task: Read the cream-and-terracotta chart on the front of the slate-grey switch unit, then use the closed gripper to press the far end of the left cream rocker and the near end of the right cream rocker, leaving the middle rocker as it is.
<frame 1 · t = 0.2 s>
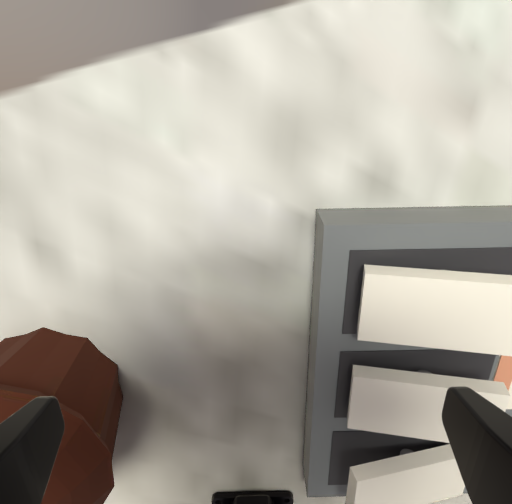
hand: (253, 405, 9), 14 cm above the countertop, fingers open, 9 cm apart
muffin: (59, 378, 27), on the countertop
rocker A: (406, 478, 26), point 4 cm above the countertop, hinge at 12.0°
rocker C: (441, 307, 20), point 4 cm above the countertop, hinge at -12.0°
rocker B: (420, 403, 23), point 4 cm above the countertop, hinge at -12.0°
switch unit: (413, 356, 27), on the countertop
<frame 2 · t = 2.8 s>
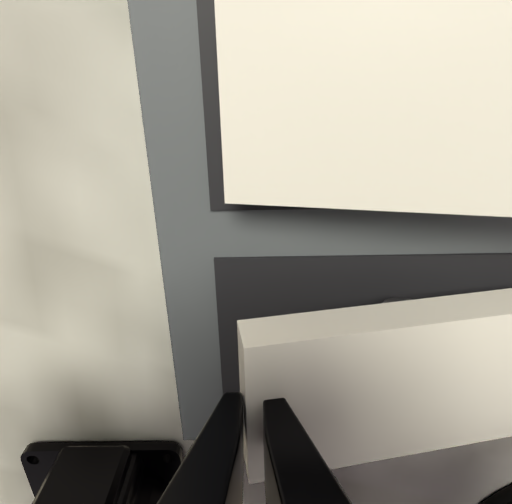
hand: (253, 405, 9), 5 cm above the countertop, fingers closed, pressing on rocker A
rocker A: (399, 374, 10), point 4 cm above the countertop, hinge at 10.4°, touching gripper
rocker B: (439, 96, 7), point 4 cm above the countertop, hinge at -12.0°
switch unit: (416, 87, 11), on the countertop
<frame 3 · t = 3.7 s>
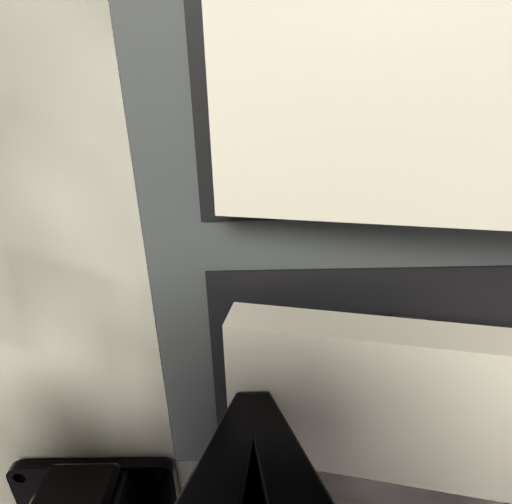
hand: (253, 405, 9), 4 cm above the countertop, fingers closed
rocker A: (400, 396, 9), point 4 cm above the countertop, hinge at -11.9°
rocker B: (451, 99, 7), point 4 cm above the countertop, hinge at -12.0°
switch unit: (422, 88, 10), on the countertop
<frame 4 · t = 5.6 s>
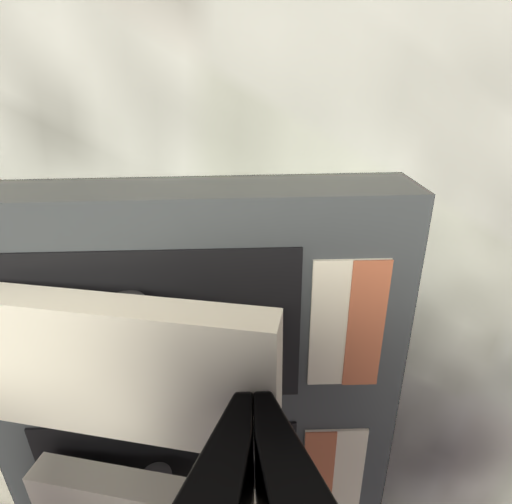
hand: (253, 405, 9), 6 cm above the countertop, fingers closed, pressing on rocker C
rocker C: (130, 363, 11), point 4 cm above the countertop, hinge at -12.0°, touching gripper
switch unit: (203, 421, 17), on the countertop
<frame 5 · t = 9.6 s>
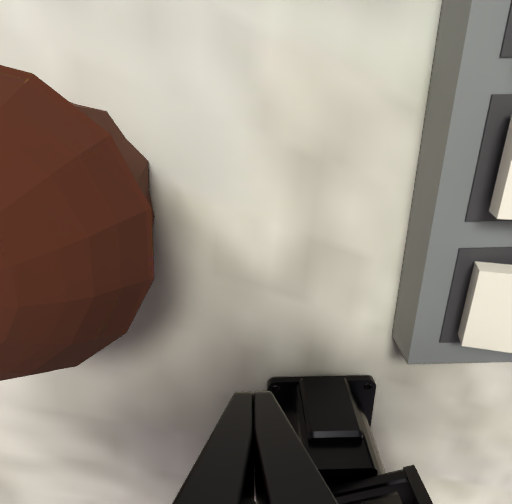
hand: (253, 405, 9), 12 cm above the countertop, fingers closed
muffin: (66, 188, 20), on the countertop
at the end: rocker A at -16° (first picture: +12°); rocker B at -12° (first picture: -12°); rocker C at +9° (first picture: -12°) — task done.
